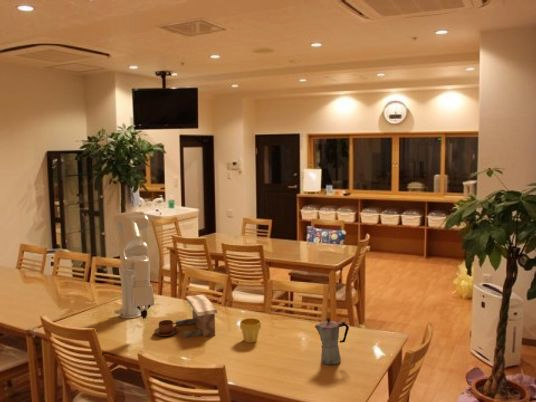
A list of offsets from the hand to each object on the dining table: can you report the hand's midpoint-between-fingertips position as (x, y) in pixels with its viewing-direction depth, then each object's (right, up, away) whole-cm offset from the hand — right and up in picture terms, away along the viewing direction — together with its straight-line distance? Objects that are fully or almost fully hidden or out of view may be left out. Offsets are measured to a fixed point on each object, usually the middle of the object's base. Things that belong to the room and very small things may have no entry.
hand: (144, 317), depth 258 cm
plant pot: (+55, -10, -5) cm, 56 cm away
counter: (+25, -9, +11) cm, 28 cm away
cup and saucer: (+10, -10, +6) cm, 15 cm away
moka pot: (+92, -13, -30) cm, 98 cm away
